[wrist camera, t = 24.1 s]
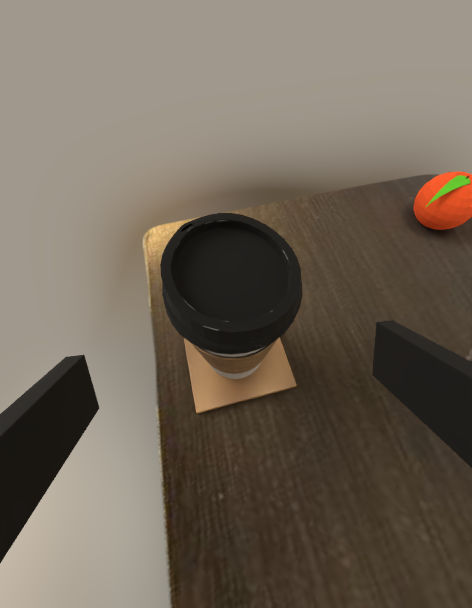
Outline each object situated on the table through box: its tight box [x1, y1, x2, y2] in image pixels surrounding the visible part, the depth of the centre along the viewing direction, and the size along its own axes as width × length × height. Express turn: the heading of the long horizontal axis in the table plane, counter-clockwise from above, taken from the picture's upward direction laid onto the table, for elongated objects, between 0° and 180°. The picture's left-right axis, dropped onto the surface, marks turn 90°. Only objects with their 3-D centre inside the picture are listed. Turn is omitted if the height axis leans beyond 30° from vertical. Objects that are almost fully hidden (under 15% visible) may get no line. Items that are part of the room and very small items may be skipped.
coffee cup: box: [160, 213, 302, 379], centre depth 20 cm, size 8×8×15 cm
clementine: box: [414, 172, 472, 230], centre depth 33 cm, size 8×7×7 cm
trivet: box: [184, 337, 297, 414], centre depth 27 cm, size 10×10×1 cm
